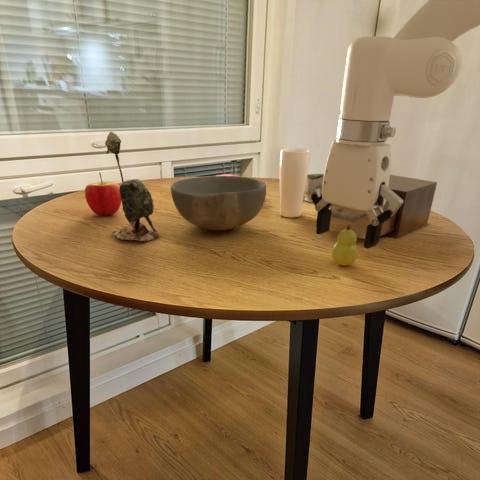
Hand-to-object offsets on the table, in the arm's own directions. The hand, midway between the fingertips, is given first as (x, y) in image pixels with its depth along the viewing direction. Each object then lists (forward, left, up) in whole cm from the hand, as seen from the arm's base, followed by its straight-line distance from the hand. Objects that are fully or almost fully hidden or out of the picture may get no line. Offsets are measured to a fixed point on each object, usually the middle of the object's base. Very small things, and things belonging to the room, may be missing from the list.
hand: (345, 239), depth 74 cm
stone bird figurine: (+37, +19, -5) cm, 42 cm away
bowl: (+31, +2, -5) cm, 31 cm away
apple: (+57, +15, -5) cm, 59 cm away
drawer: (+7, -18, -4) cm, 19 cm away
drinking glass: (+27, -18, -5) cm, 33 cm away
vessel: (+32, -36, -5) cm, 48 cm away
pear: (0, 0, -5) cm, 5 cm away
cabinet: (+7, -29, -5) cm, 30 cm away
